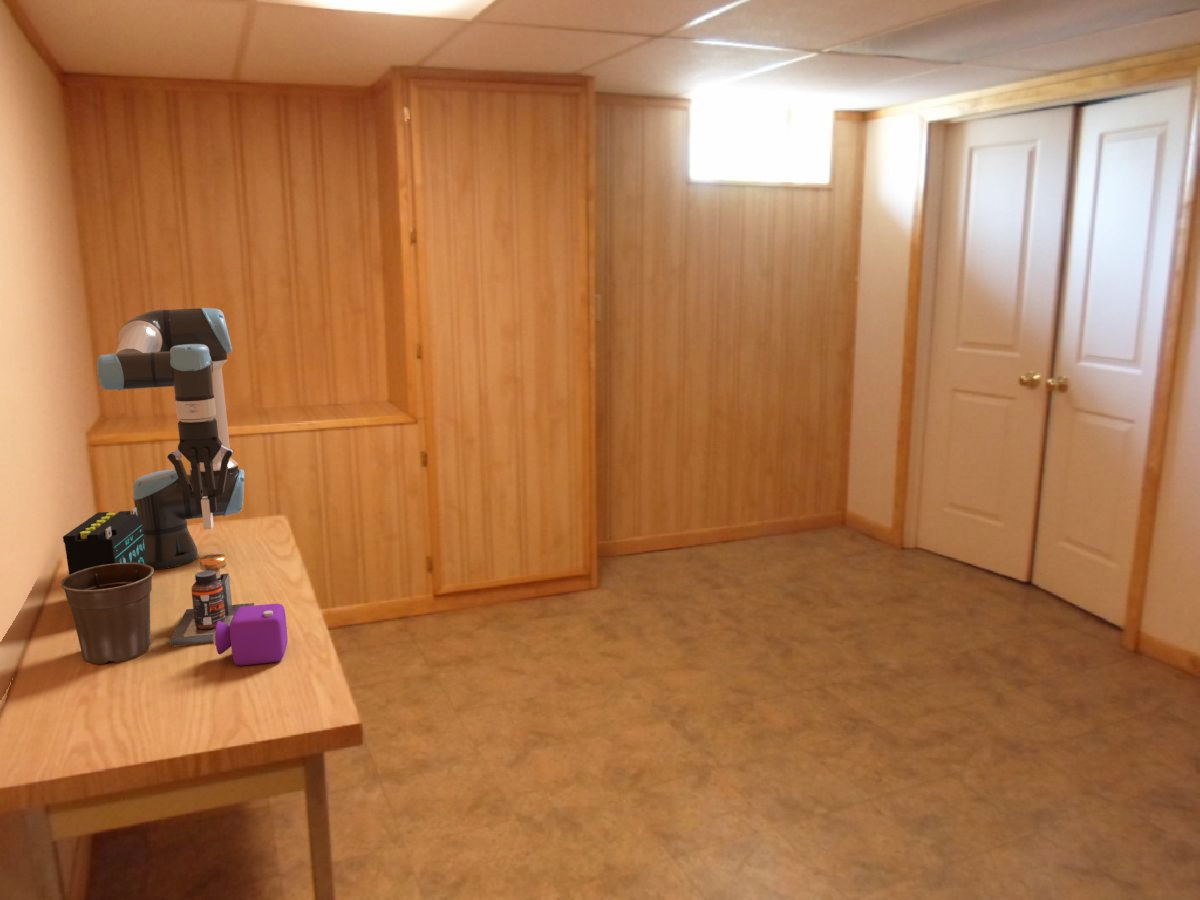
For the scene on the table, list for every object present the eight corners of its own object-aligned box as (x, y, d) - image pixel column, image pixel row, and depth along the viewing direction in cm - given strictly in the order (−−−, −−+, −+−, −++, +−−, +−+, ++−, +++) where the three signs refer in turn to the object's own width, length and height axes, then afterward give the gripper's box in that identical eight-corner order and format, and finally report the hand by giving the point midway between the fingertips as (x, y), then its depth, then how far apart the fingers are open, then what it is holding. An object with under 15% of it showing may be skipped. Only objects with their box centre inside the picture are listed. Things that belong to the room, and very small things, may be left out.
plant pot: (181, 641, 188) (172, 566, 185) (116, 674, 174) (105, 593, 170) (120, 631, 194) (110, 558, 190) (52, 663, 179) (40, 584, 176)
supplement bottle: (214, 631, 188) (209, 578, 186) (189, 629, 190) (183, 577, 187) (231, 620, 194) (226, 569, 192) (206, 618, 195) (201, 567, 193)
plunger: (205, 585, 201) (201, 555, 200) (230, 583, 202) (227, 553, 201) (200, 593, 196) (197, 562, 195) (226, 591, 197) (223, 560, 196)
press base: (187, 615, 202) (182, 576, 200) (254, 609, 205) (250, 570, 203) (170, 646, 186) (165, 604, 184) (243, 639, 189) (239, 597, 187)
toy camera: (214, 653, 182) (209, 606, 180) (287, 641, 187) (282, 595, 185) (215, 675, 172) (210, 625, 170) (292, 661, 178) (287, 613, 176)
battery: (121, 617, 202) (110, 530, 198) (74, 620, 200) (62, 532, 196) (150, 587, 220) (140, 506, 216) (108, 589, 219) (97, 509, 215)
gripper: (159, 423, 187) (172, 535, 192) (227, 420, 190) (238, 529, 195) (167, 417, 194) (179, 525, 199) (232, 414, 197) (243, 520, 202)
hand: (208, 527), depth 197 cm, fingers closed
